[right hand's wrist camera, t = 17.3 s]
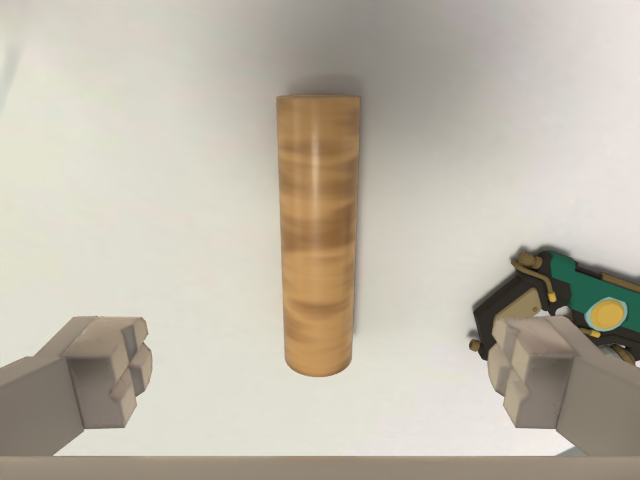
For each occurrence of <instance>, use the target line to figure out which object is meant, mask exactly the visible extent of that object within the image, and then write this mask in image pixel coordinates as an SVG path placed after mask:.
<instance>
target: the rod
mask: <svg viewBox="0 0 640 480" xmlns="http://www.w3.org/2000/svg"><path fill="white" fill-rule="evenodd" d="M360 101H361V98H360V97H359V96H351V95H284V96H277V97H276V106H277V136H278V166H279V197H280V227H281V258H282V288H283V319H284V349H285V361H286V363H287V364H288V366H289V367H290V368H291V369H292V370H294V371H295V372H297V373H300V374H302V375H306V376H311V377H326V376H331V375H334V374H337V373H339V372H341V371H343V370H344V369H346V368H347V367H348V365H349V364H350V362H351V360H352V341H353V311H354V281H355V251H356V221H357V191H358V161H359V131H360Z"/></svg>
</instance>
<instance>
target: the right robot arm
mask: <svg viewBox="0 0 640 480" xmlns="http://www.w3.org/2000/svg"><path fill="white" fill-rule="evenodd" d="M147 335H148V330H147V325H146V321H145V320H144V319H143V318H142V317H105V316H100V317H98V316H78V317H73V318H72V319H71V320H70V321H69V322H68V323H67V324H66V325H65V326H64V327H63V328H62V329H61V330H60V331H59V332H58V333H57V334H56V335H55V336H54V337H53V338H52V339H51V340H50V341H49V342H48V343H47V344H46V345H45V346H44V347H43V348H42V349H41V350H40V351H38V352H37V353H36V354H35V355H34V356H33V357H24V358H22V359H20V360H17V361H15V362H13V363H10V364H8V365H6V366H4V367H1V368H0V480H640V368H639V367H636V366H634V365H632V364H630V363H627V362H625V361H623V360H620V359H618V358H616V357H607V356H606V355H605V354H604V353H603V352H602V351H601V350H600V349H599V348H597V347H596V346H595V345H594V344H593V343H592V342H591V341H590V340H589V339H588V338H587V337H586V336H585V335H584V334H583V333H582V332H581V331H580V330H579V329H578V328H577V327H576V326H575V325H574V324H573V323H572V322H571V321H570V320H569V319H568V318H566V317H563V316H547V317H508V318H496V320H495V322H494V324H493V330H492V335H493V337H494V338H495V340H496V341H497V343H496V344H495V345H494V346H493V347H492V348H491V349H490V350H489V354H488V362H487V363H488V374H489V378H490V381H491V384H492V386H493V388H494V390H495V391H496V392H497V393H499V394H501V395H502V396H504V403H503V406H504V408H505V410H506V411H507V413H508V415H509V417H510V419H511V420H512V422H513V424H514V426H515V428H538V429H556V431H557V432H558V433H559V434H561V435H562V436H563V437H565V438H566V439H567V440H568V441H570V442H571V443H572V444H573V445H575V446H576V447H577V448H579V449H580V450H581V451H582V452H584V453H585V454H586V455H588V456H53V455H54V454H55V453H56V452H58V451H59V450H60V449H62V448H63V447H64V446H65V445H67V444H68V443H69V442H71V441H72V440H73V439H74V438H76V437H77V436H78V435H79V434H81V433H82V432H83V431H84V429H102V428H125V426H126V424H127V422H128V420H129V419H130V417H131V415H132V413H133V411H134V410H135V408H136V406H137V403H136V396H138V395H139V394H141V393H143V392H144V391H145V390H146V388H147V386H148V384H149V381H150V377H151V373H152V354H151V350H150V349H149V348H148V347H147V346H146V345H145V344H144V343H143V341H144V340H145V338H146V337H147Z"/></svg>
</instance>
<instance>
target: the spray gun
mask: <svg viewBox="0 0 640 480" xmlns="http://www.w3.org/2000/svg"><path fill="white" fill-rule="evenodd" d="M511 264H512V265H513V266H514V267H515V268H516V269H517V275H518V276H516V277H515V278H514V279H513V280H511V281H510V282H509V283H508V284H506V285H505V286H504V287H503V288H501V289H500V290H499V291H498V292H496V293H495V294H494V295H493V296H492V297H490V298H489V299H488V300H487V301H486V302H484V303H483V304H482V305H481V306H480V307H478V308H477V309H476V310H475V311H474V312H473V313H474V317H475V321H476V325H477V329H478V333H479V336H480V340H481V342H479V341H478V340H474V339H472V340H471V341H470V344H469V348H470V350H473V351H475V352H476V351H478V353H479V355H480V356H481V358H482V359H483V360H486V361H488V354H489V350H490V349H491V348H492V347H493V346H494V345H495V344H496V343H497V341H496V340H495V338H494V337H493V335H492V330H493V324H494V322H495V320H496V318H508V317H532V316H534V315H535V314H537V313H538V312H539V311H540V310H541V309H542V310H544V311H548V312H549V314H550V315H551V316H555V312H556V310H557V309H558V308H561V307H563V306H568V307H570V308H571V309H572V313H573V321H571V320H570V321H571V322H572V323H573V324H574V325H575V326H576V327H577V328H578V329H579V330H580V331H581V332H582V333H583V334H584V335H585V336H586V337H587V338H588V339H589V340H590V341H591V342H592V343H593V344H594V345H595V346H596V347H597V348H599V349H600V350H601V351H602V352H603V353H604V354H605V355H606V356H607V357H616V358H618V359H620V360H623V361H625V362H627V363H630V364H632V365H634V366H636V365H635V361H639V360H640V285H637V284H634V283H631V282H628V281H625V280H622V279H619V278H616V277H614V276H611V275H608V274H605V273H599V274H597V273H595V272H592V271H589V270H586V269H583V268H580V267H577V265H578V264H579V263H577V262H576V261H574V260H573V259H572V258H570V257H567V256H564V255H561V254H559V253H556V252H553V251H543V252H541V253H539V255H538V256H535V257H533V255H532V254H529V253H526V252H522V253H521V254H520V255H519V258H518V261H516V260H512V261H511ZM613 342H614V343H617V344H620V345H624V346H625V348H626V349H625V348H623V347H621V346H619V345H617V344H613V345H610V347H608V346H605V345H604V344H609V343H613Z"/></svg>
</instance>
